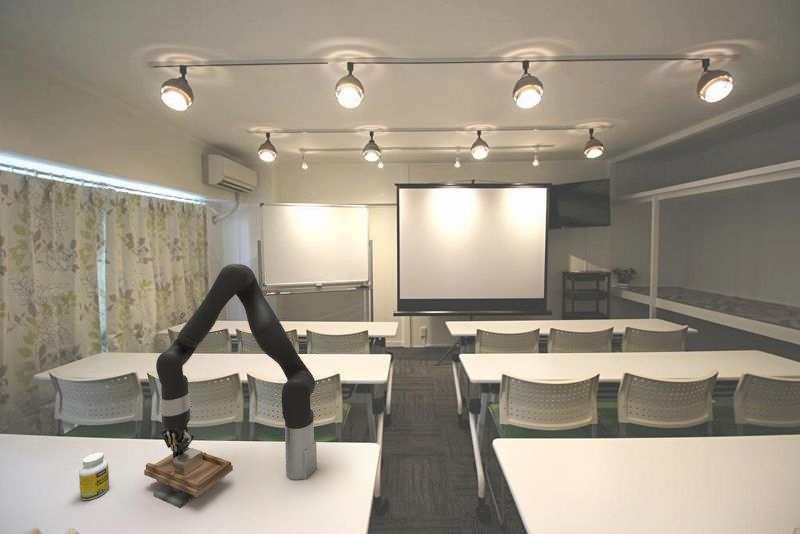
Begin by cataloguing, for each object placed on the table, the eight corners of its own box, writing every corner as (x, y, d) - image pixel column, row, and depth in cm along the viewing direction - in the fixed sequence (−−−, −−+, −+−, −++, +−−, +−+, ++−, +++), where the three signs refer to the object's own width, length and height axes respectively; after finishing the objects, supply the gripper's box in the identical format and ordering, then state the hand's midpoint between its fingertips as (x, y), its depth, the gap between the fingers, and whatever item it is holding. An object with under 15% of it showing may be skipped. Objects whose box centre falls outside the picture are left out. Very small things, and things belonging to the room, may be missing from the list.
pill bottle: (91, 503, 96) (89, 465, 95) (74, 499, 97) (72, 462, 96) (115, 487, 102) (113, 451, 101) (98, 484, 103) (96, 449, 103)
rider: (202, 463, 104) (202, 451, 104) (184, 475, 99) (183, 462, 98) (192, 459, 106) (191, 447, 106) (173, 471, 100) (173, 458, 100)
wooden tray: (235, 481, 105) (235, 458, 104) (194, 514, 92) (193, 488, 91) (185, 462, 114) (184, 441, 113) (141, 490, 101) (140, 466, 100)
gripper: (201, 407, 104) (203, 459, 105) (174, 400, 109) (176, 449, 110) (177, 418, 97) (180, 474, 98) (150, 410, 102) (152, 463, 103)
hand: (178, 460), depth 104 cm, fingers closed
